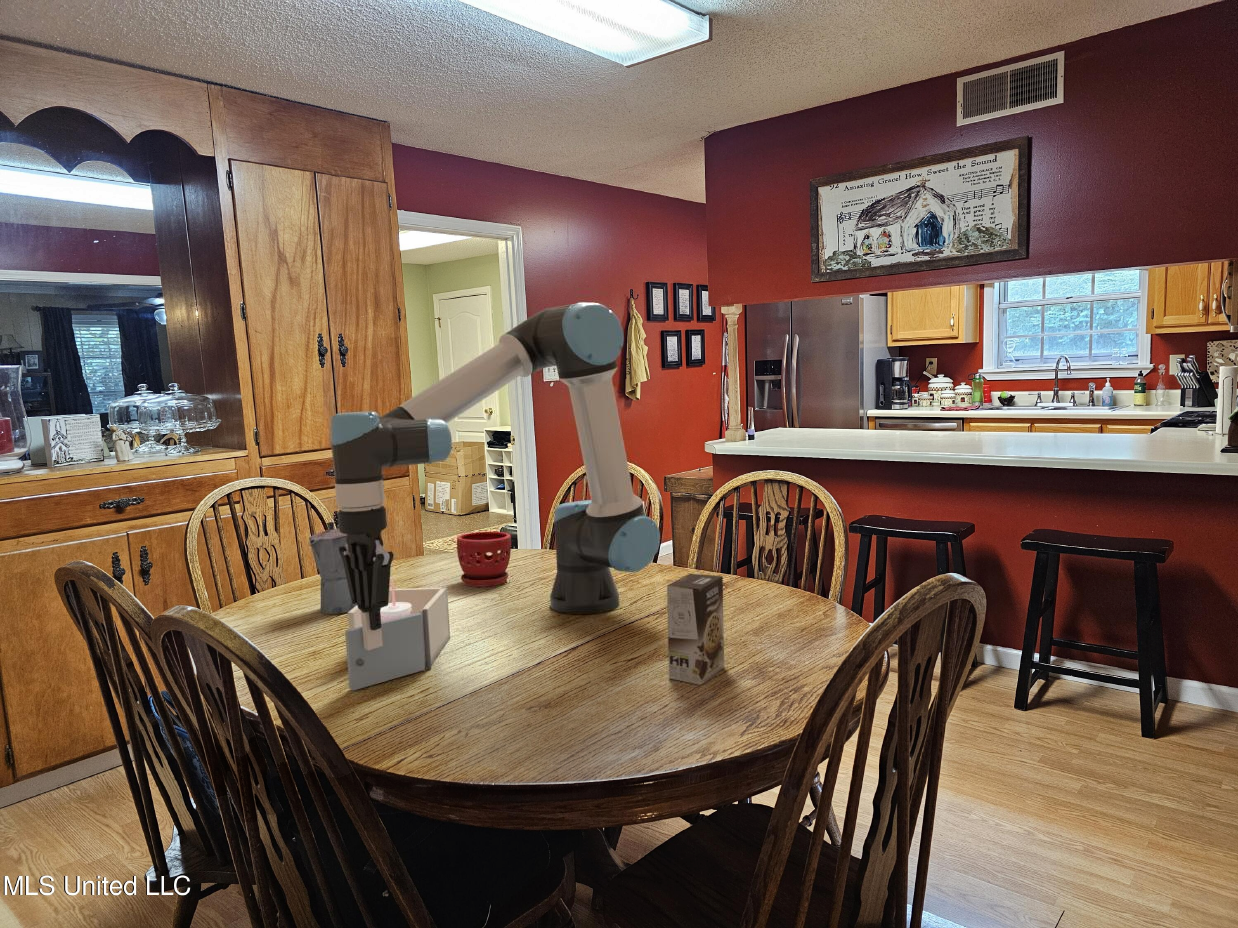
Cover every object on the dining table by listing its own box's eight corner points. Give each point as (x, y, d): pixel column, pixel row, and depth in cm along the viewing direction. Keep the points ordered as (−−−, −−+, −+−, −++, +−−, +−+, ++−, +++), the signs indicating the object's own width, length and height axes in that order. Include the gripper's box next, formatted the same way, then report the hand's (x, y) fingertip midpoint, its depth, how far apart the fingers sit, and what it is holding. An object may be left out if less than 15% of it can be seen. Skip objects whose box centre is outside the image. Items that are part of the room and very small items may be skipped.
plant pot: (508, 588, 192) (506, 539, 190) (454, 590, 192) (451, 541, 191) (516, 574, 205) (514, 528, 203) (465, 576, 205) (462, 530, 203)
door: (421, 667, 141) (417, 612, 140) (426, 670, 140) (423, 615, 138) (349, 688, 133) (344, 629, 132) (354, 691, 131) (349, 632, 130)
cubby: (452, 638, 157) (449, 584, 156) (430, 669, 141) (426, 610, 140) (379, 640, 158) (375, 586, 156) (349, 671, 141) (344, 612, 140)
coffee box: (702, 686, 130) (700, 589, 128) (667, 679, 133) (664, 584, 131) (726, 667, 137) (724, 575, 135) (692, 661, 141) (690, 571, 139)
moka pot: (300, 616, 175) (292, 526, 173) (348, 596, 189) (342, 513, 187) (334, 620, 172) (327, 528, 169) (381, 600, 186) (375, 515, 183)
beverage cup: (404, 646, 150) (399, 573, 149) (421, 653, 146) (416, 579, 144) (374, 655, 146) (368, 580, 145) (390, 663, 142) (385, 586, 140)
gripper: (404, 506, 129) (415, 648, 131) (361, 500, 137) (372, 634, 140) (362, 513, 123) (374, 661, 126) (320, 507, 132) (332, 646, 134)
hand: (373, 647), depth 133 cm, fingers closed
